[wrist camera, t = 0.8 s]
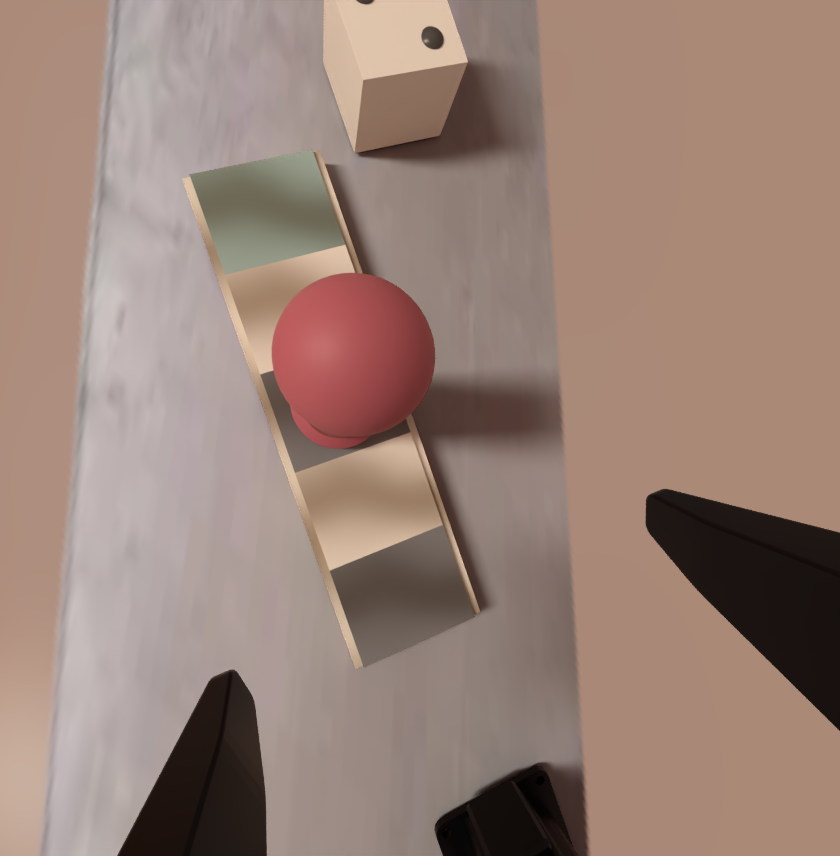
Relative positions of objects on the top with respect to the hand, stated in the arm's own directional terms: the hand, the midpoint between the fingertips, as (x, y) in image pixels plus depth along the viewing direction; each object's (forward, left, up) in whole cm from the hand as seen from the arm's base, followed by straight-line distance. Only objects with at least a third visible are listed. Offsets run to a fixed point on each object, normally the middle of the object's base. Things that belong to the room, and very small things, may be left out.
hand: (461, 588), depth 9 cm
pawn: (+5, 0, -14) cm, 15 cm away
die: (+20, -8, -15) cm, 27 cm away
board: (+5, 0, -15) cm, 16 cm away
